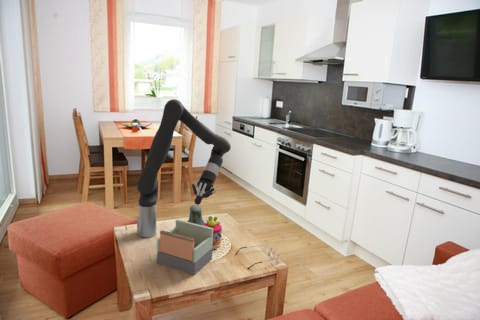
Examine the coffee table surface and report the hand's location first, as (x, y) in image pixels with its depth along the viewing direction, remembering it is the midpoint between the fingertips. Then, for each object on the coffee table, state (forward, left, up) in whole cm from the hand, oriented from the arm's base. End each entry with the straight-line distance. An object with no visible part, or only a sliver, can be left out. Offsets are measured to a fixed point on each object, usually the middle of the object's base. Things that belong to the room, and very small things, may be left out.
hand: (196, 203), depth 163 cm
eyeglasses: (+29, +11, -26) cm, 41 cm away
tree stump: (-15, +23, -26) cm, 38 cm away
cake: (+3, +11, -26) cm, 28 cm away
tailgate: (0, -17, -19) cm, 26 cm away
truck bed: (0, -9, -26) cm, 27 cm away
